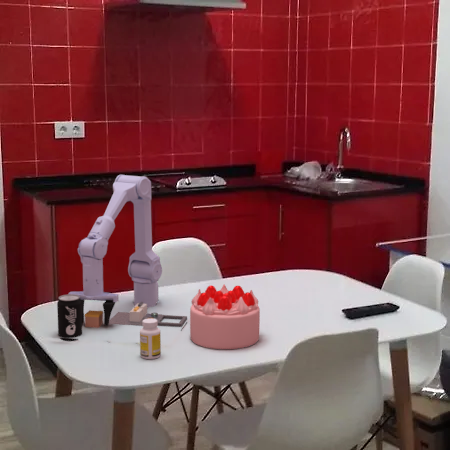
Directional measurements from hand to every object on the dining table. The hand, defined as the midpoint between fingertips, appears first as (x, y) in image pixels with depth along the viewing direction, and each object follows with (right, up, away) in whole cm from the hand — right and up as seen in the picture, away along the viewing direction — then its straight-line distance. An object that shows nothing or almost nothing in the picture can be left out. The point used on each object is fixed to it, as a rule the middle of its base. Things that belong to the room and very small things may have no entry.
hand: (94, 324), depth 223 cm
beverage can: (-5, -3, -8) cm, 10 cm away
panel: (+11, 0, +7) cm, 13 cm away
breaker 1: (+13, +1, +11) cm, 16 cm away
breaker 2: (+12, +1, +6) cm, 13 cm away
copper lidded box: (0, -2, 0) cm, 2 cm away
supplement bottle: (+19, -6, -22) cm, 29 cm away
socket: (+22, -1, +4) cm, 23 cm away
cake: (+38, -3, -7) cm, 39 cm away
